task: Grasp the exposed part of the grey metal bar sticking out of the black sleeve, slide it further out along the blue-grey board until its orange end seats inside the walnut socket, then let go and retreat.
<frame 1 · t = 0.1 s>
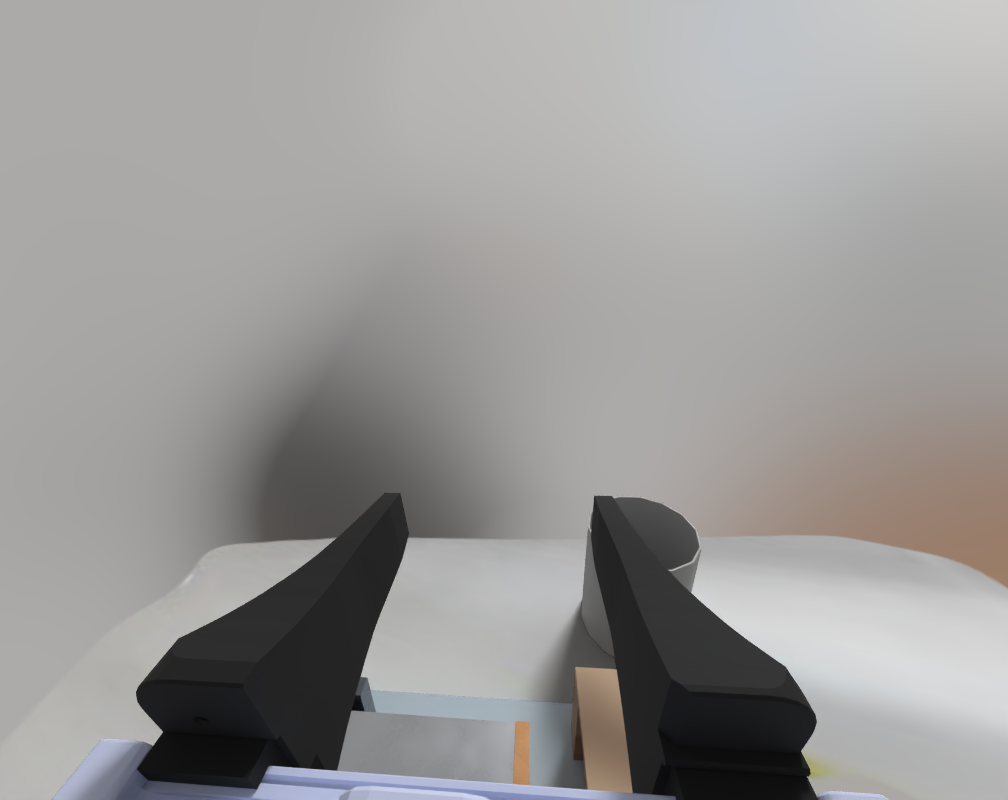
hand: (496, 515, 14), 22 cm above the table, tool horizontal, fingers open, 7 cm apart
cup: (628, 618, 33), on the table
sleeve: (298, 792, 23), resting on board
bar: (383, 772, 21), point 3 cm above the table, slide at 0.0 cm
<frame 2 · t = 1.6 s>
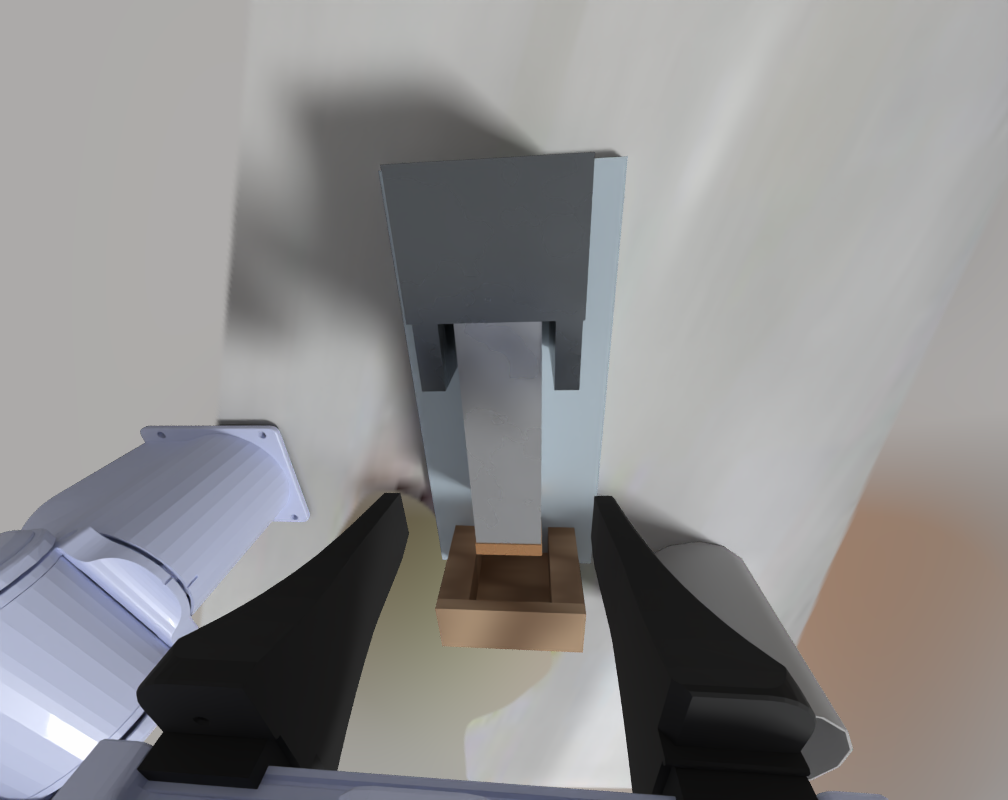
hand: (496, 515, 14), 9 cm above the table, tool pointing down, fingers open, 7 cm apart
socket: (515, 537, 27), resting on board
cup: (686, 579, 28), on the table
board: (510, 408, 22), on the table
sleeve: (504, 269, 19), resting on board
bar: (505, 399, 19), point 3 cm above the table, slide at 0.0 cm
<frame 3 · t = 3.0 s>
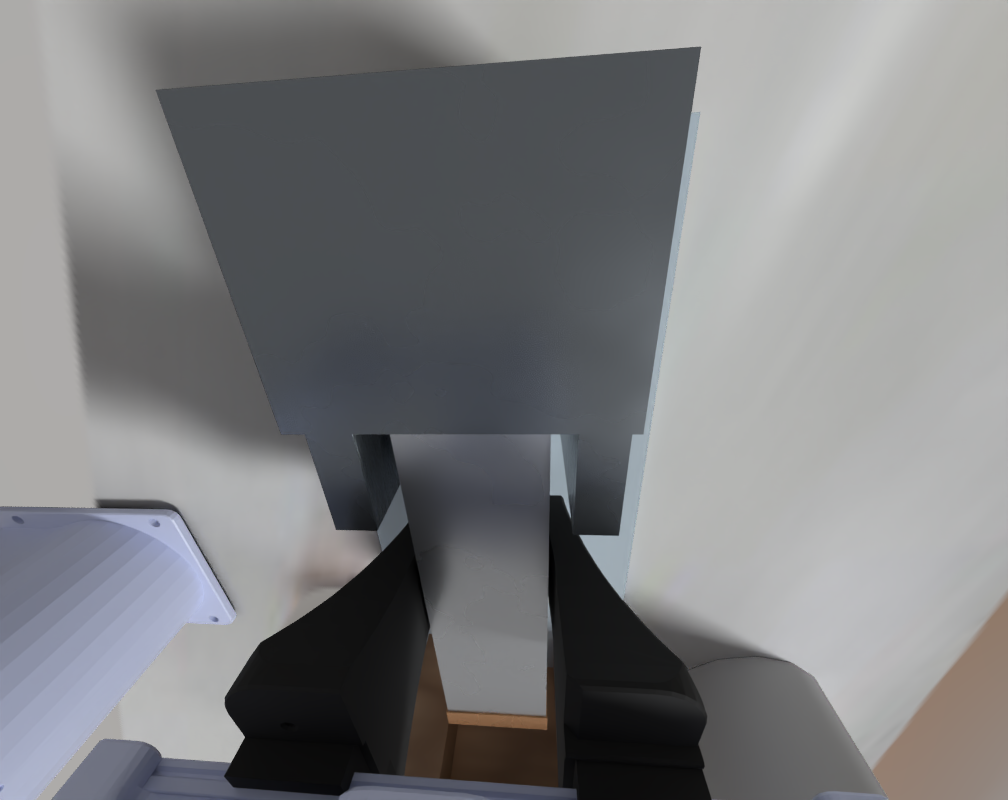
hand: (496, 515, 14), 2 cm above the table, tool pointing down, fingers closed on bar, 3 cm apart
socket: (509, 645, 20), resting on board
cup: (736, 695, 21), on the table
board: (500, 493, 16), on the table
sleeve: (489, 300, 12), resting on board
bar: (490, 505, 12), point 3 cm above the table, slide at 0.0 cm, touching gripper
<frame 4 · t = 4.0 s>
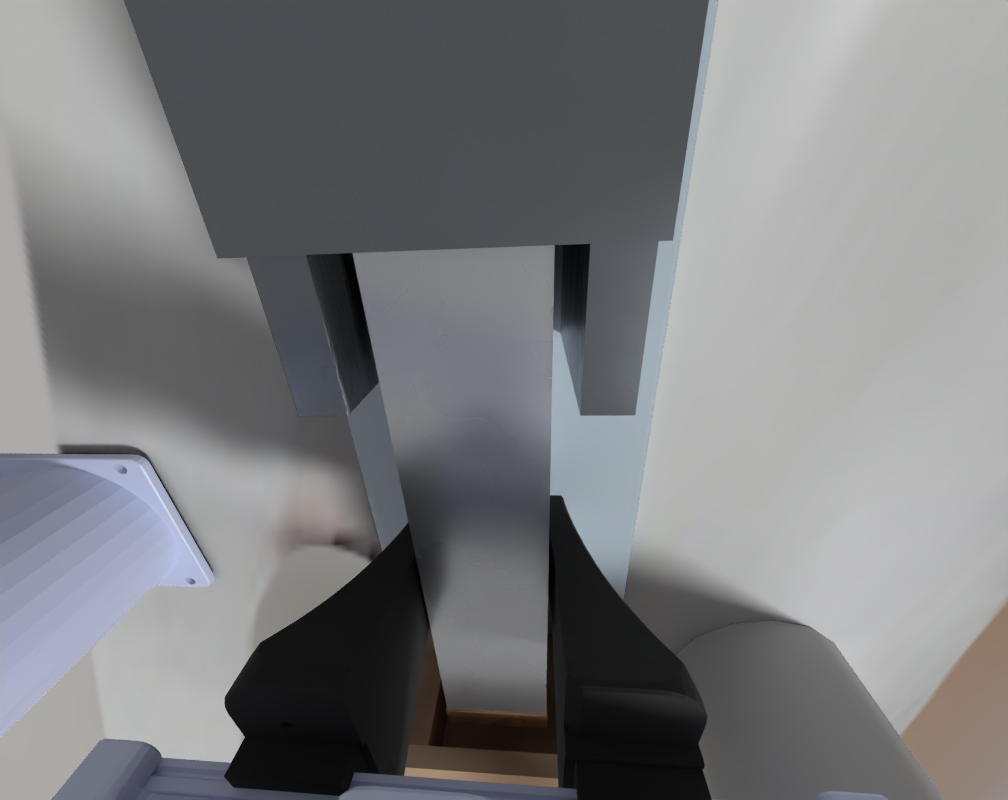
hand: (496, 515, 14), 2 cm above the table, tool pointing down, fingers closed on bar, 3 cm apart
socket: (507, 610, 19), resting on board
cup: (749, 665, 20), on the table
board: (497, 431, 14), on the table
sleeve: (483, 193, 11), resting on board
bar: (490, 503, 12), point 3 cm above the table, slide at 2.9 cm, touching gripper
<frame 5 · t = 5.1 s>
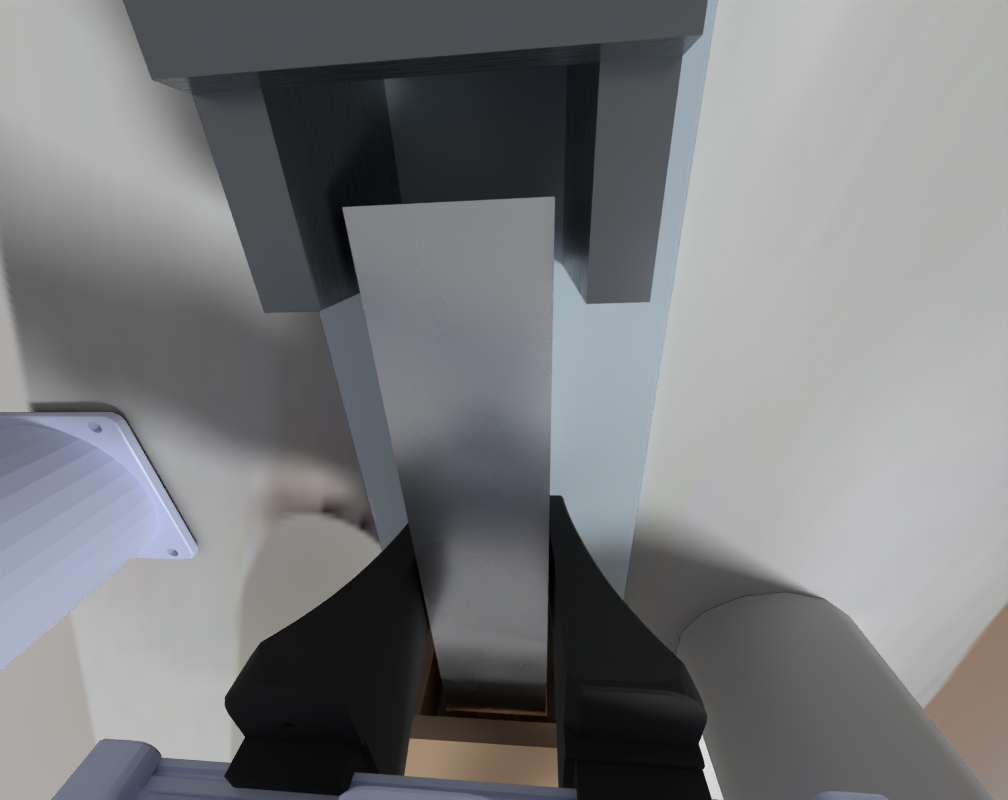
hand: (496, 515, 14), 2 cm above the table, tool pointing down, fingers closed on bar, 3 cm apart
socket: (506, 583, 18), resting on board
cup: (759, 642, 19), on the table
board: (494, 382, 13), on the table
sleeve: (478, 103, 10), resting on board
bar: (490, 501, 12), point 3 cm above the table, slide at 4.9 cm, touching gripper
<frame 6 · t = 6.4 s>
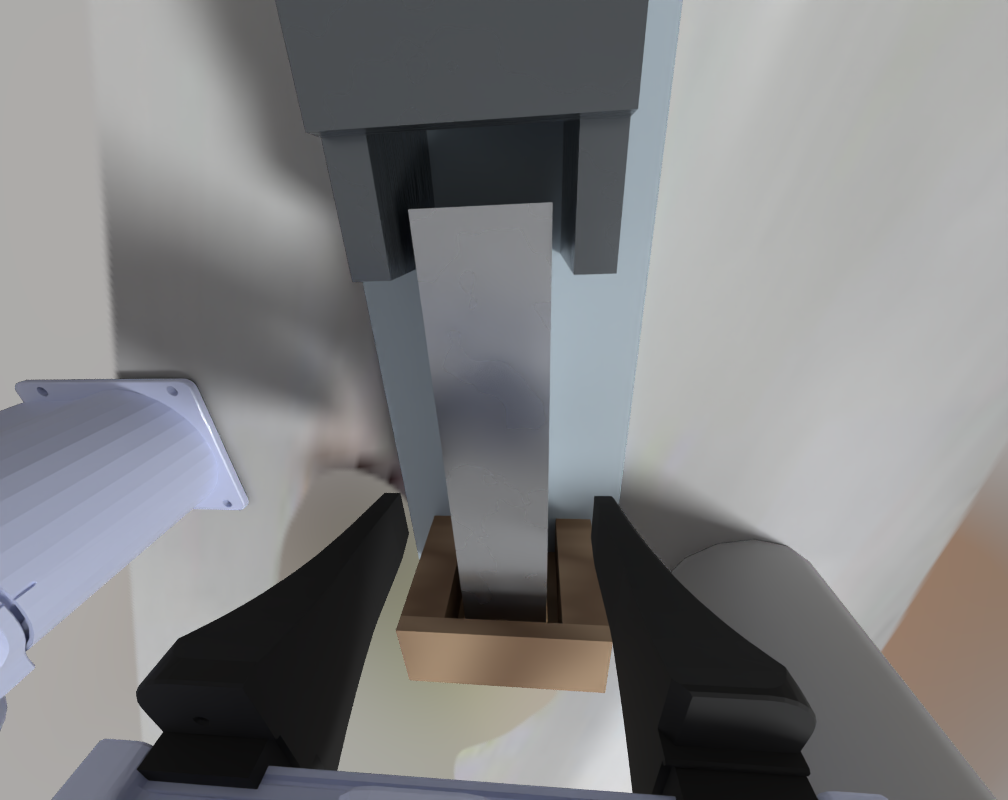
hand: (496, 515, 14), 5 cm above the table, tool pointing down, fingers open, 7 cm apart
socket: (512, 532, 21), resting on board
cup: (733, 588, 22), on the table
board: (505, 352, 16), on the table
sleeve: (495, 128, 13), resting on board
bar: (502, 445, 15), point 3 cm above the table, slide at 4.9 cm
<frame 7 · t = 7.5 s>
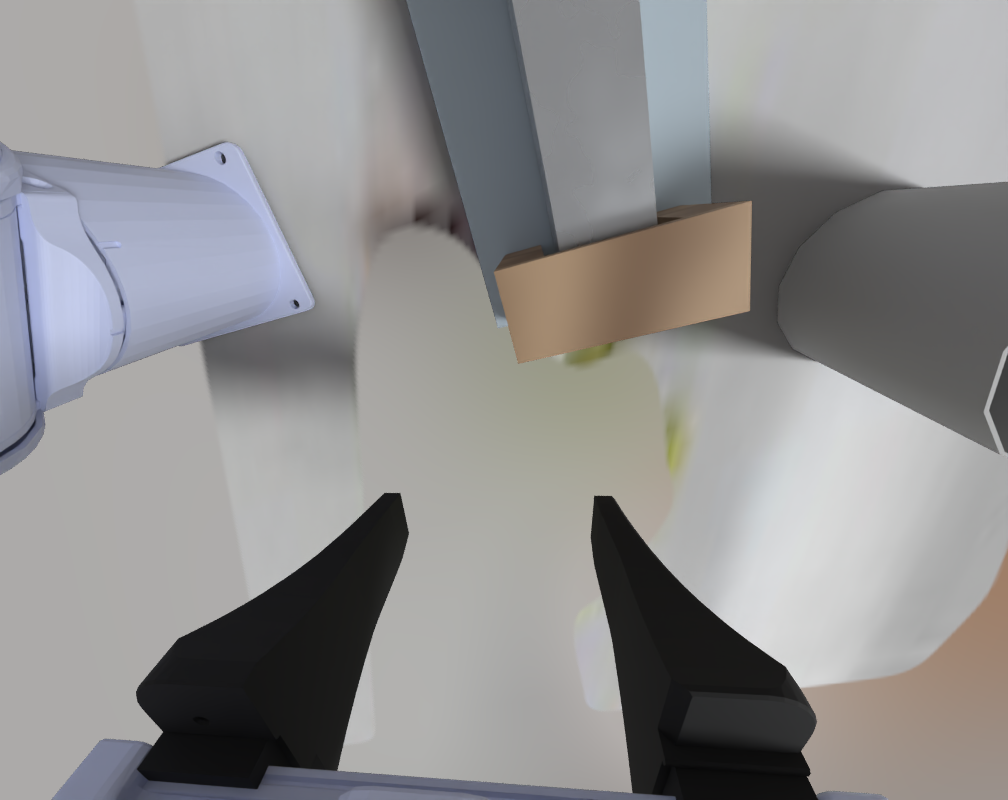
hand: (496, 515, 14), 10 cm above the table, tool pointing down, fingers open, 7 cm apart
socket: (592, 266, 19), resting on board
cup: (864, 283, 19), on the table
bar: (569, 43, 13), point 3 cm above the table, slide at 4.9 cm
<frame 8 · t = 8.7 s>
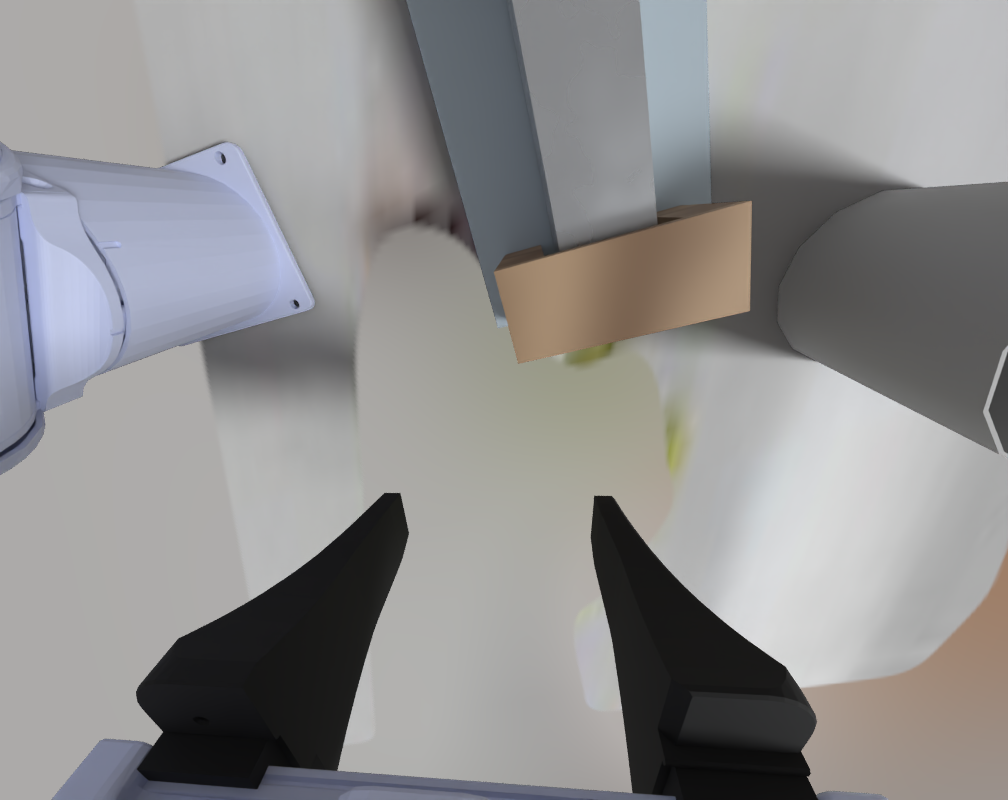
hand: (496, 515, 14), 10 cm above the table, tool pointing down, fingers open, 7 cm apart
socket: (592, 266, 19), resting on board
cup: (864, 283, 19), on the table
bar: (569, 43, 13), point 3 cm above the table, slide at 4.9 cm
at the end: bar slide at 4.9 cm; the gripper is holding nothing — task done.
